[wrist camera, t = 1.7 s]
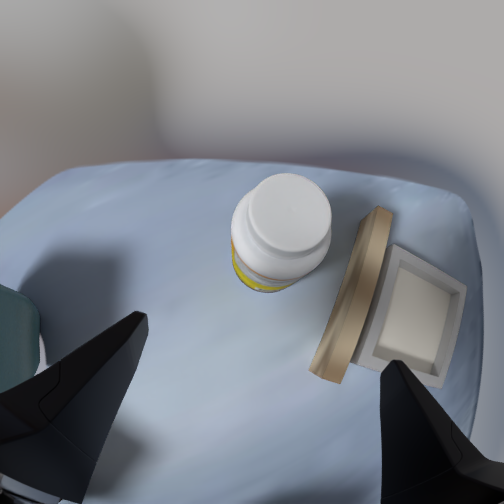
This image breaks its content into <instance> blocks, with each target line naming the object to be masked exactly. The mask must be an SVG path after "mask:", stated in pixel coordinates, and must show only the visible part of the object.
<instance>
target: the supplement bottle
mask: <svg viewBox="0 0 504 504" xmlns="http://www.w3.org/2000/svg"><path fill="white" fill-rule="evenodd" d="M331 220H332V213H331V207H330V203H329V201H328V199H327V197H326V195H325V193H324V192H323V191H322V190H321V188H320V187H319V186H318V185H316V184H315V183H314V182H312V181H311V180H309V179H307V178H305V177H303V176H300V175H297V174H290V173H282V174H276V175H273V176H270V177H268V178H266V179H265V180H263V181H262V182H261V183H260V184H259V185H258V186H257V187H256V188H254V189H252V190H251V191H250V192H248V193H247V194H246V195H245V196H244V197H243V198H242V199H241V200H240V202H239V203H238V205H237V207H236V209H235V211H234V214H233V217H232V223H231V244H232V262H233V267H234V270H235V272H236V274H237V276H238V277H239V279H240V280H241V281H242V282H243V283H244V284H245V285H246V286H248V287H249V288H251V289H253V290H255V291H258V292H263V293H273V292H277V291H280V290H283V289H285V288H287V287H288V286H290V285H291V284H293V283H295V282H296V281H298V280H299V279H301V278H302V277H304V276H305V275H306V274H308V273H309V272H311V271H312V270H314V269H315V268H316V267H317V266H318V265H319V264H320V263H321V261H322V260H323V259H324V257H325V255H326V254H327V251H328V249H329V246H330V242H331Z"/></svg>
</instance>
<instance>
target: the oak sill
mask: <svg viewBox="0 0 504 504" xmlns="http://www.w3.org/2000/svg"><path fill="white" fill-rule="evenodd" d="M392 216H393V213H391V212H389V211H388V210H386V209H384V208H382V207H380V206H377V207H376V208H375V209H374V210H373V211H372V212H370V213H369V214H368V215H367V216H366V217H365V218H363V219H362V220H361V222H360V226H359V230H358V233H357V237H356V240H355V244H354V247H353V250H352V254H351V257H350V260H349V263H348V267H347V270H346V273H345V276H344V279H343V282H342V285H341V288H340V291H339V294H338V297H337V299H336V302H335V305H334V308H333V311H332V313H331V316H330V319H329V321H328V324H327V326H326V329H325V332H324V334H323V337H322V339H321V342H320V344H319V347H318V349H317V352H316V354H315V356H314V359H313V361H312V363H311V366H310V368H309V371H310V372H312V373H314V374H315V375H317V376H319V377H320V378H322V379H325V380H328V381H331V382H335V383H338V384H341V381H342V379H343V377H344V374H345V372H346V370H347V367H348V365H349V362H350V360H351V357H352V355H353V352H354V349H355V347H356V344H357V341H358V339H359V336H360V333H361V330H362V327H363V325H364V322H365V319H366V316H367V313H368V310H369V306H370V303H371V300H372V297H373V293H374V290H375V287H376V283H377V280H378V276H379V272H380V269H381V265H382V261H383V257H384V253H385V249H386V245H387V240H388V236H389V231H390V226H391V221H392Z"/></svg>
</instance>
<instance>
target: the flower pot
mask: <svg viewBox="0 0 504 504" xmlns="http://www.w3.org/2000/svg"><path fill="white" fill-rule="evenodd" d="M39 333H40V315H39V312H38V310H37V308H36V307H35V305H34V304H33V303H32V301H31V300H30V299H28V298H27V297H26V296H24V295H23V294H21V293H19V292H17V291H14V290H12V289H10V288H8V287H5V286H3V285H1V284H0V393H2V392H4V391H7V390H8V389H10V388H12V387H14V386H16V385H18V384H20V383H22V382H24V381H26V380H28V379H30V378H32V377H34V375H35V373H36V371H37V368H38V366H39V363H40V347H39Z"/></svg>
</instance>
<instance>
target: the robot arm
mask: <svg viewBox="0 0 504 504" xmlns="http://www.w3.org/2000/svg"><path fill="white" fill-rule="evenodd" d="M148 331H149V329H148V318H147V314H145V313H143V312H139V311H134V312H133V313H131V314H129V315H128V316H126V317H125V318H123V319H122V320H120V321H119V322H117V323H116V324H114V325H113V326H111V327H109V328H108V329H106V330H105V331H103V332H102V333H100V334H99V335H97V336H96V337H94V338H93V339H91V340H90V341H88V342H87V343H85V344H84V345H82V346H81V347H79V348H78V349H76V350H75V351H73V352H72V353H70V354H69V355H67V356H66V357H64V358H63V359H61V361H58V362H56V363H55V364H53V365H52V366H50V367H49V368H47V369H46V370H44V371H43V372H41V373H39V374H37V375H36V376H34V377H32V378H30V379H28V380H26V381H24V382H22V383H20V384H18V385H16V386H14V387H12V388H10V389H8V390H7V391H4V392H2V393H0V504H58V503H59V500H60V498H61V499H65V500H68V501H71V502H75V503H78V504H82V501H83V499H84V496H85V493H86V490H87V487H88V484H89V482H90V479H91V476H92V474H93V471H94V468H95V466H96V462H97V460H98V458H99V455H100V452H101V450H102V447H103V445H104V443H105V440H106V438H107V435H108V433H109V430H110V428H111V426H112V423H113V421H114V419H115V416H116V414H117V412H118V409H119V407H120V405H121V403H122V400H123V398H124V396H125V394H126V391H127V389H128V387H129V385H130V383H131V381H132V378H133V376H134V374H135V371H136V369H137V366H138V363H139V360H140V357H141V354H142V351H143V348H144V345H145V342H146V339H147V336H148ZM380 421H381V443H382V486H381V504H504V463H502V462H495V461H491V460H489V459H487V458H485V457H484V456H483V455H482V454H481V453H480V452H479V451H478V449H477V448H476V447H475V446H474V445H473V444H472V443H471V442H470V441H469V440H468V438H467V437H466V436H465V435H464V434H463V433H462V432H461V430H460V429H459V428H458V427H457V426H456V424H455V423H454V422H453V421H452V420H451V418H450V417H449V416H448V414H447V413H446V412H445V411H444V409H443V408H442V407H441V406H440V404H439V403H438V402H437V401H436V400H435V398H434V397H433V396H432V395H431V394H430V392H429V391H428V390H427V389H426V388H425V386H424V385H423V384H422V383H421V382H420V380H419V379H418V378H417V377H416V376H415V375H414V373H413V372H412V371H411V370H410V369H409V368H408V366H407V365H406V364H405V363H404V362H403V361H402V360H396V359H394V360H391V361H390V363H389V364H388V365H387V366H386V367H385V369H384V370H383V371H382V373H381V376H380Z"/></svg>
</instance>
